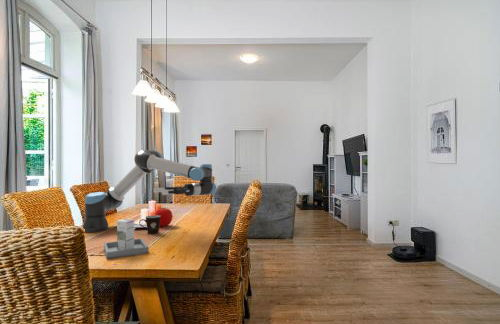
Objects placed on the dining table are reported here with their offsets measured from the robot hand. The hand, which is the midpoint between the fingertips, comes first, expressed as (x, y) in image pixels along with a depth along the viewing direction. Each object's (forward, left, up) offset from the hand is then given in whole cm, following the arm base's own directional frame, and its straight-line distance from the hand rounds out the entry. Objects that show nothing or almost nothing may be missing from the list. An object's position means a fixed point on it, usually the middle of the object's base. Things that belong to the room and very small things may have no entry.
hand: (157, 191), depth 173 cm
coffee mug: (-13, +5, -27) cm, 30 cm away
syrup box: (+7, -26, -26) cm, 37 cm away
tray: (+6, -26, -27) cm, 38 cm away
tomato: (-21, +22, -27) cm, 41 cm away
